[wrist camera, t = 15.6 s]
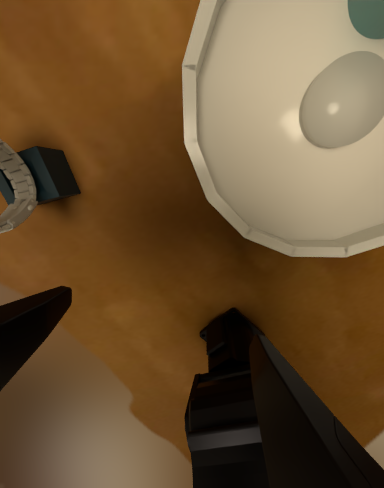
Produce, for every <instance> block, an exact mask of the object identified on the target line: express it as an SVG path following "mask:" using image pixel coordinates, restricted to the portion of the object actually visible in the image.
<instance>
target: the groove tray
mask: <svg viewBox="0 0 384 488" xmlns="http://www.w3.org/2000/svg"><path fill="white" fill-rule="evenodd" d="M182 83H183V116H184V144H185V146H186V149H187V151H188V154H189V156H190V159H191V161H192V164H193V166H194V168H195V171H196V173H197V176H198V178H199V181H200V183H201V186H202V188H203V191H204V193H205V196H206V198H207V201H208V202H209V203H210V204H211V205H212V206H213V207H214V208H215V209H216V210H217V211H218V212H219V213H220V214H221V215H222V216H223V217H224V218H225V219H226V220H227V221H228V222H229V223H230V224H231V225H232V226H233V227H234V228H235V229H236V230H237V231H238V232H239V233H240V234H241V235H242V236H243V237H244V238H246V239H249V240H251V241H254V242H256V243H258V244H261V245H263V246H266V247H268V248H271V249H273V250H276V251H278V252H281V253H283V254H286V255H288V256H291V257H348V256H351V255H355V254H358V253H361V252H364V251H367V250H370V249H374V248H377V247H380V246H383V245H384V39H369V38H366V37H364V36H362V35H361V34H360V33H358V32H357V31H356V29H355V28H354V27H353V25H352V23H351V20H350V18H349V13H348V0H201V1H200V4H199V8H198V11H197V15H196V18H195V22H194V25H193V29H192V32H191V36H190V39H189V43H188V46H187V50H186V53H185V57H184V60H183V64H182Z"/></svg>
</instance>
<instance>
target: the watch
mask: <svg viewBox="0 0 384 488" xmlns="http://www.w3.org/2000/svg"><path fill="white" fill-rule="evenodd" d="M14 152H15V151H14V150H13V149H12V148H11V147H10V146H9V145H7V144H6V143H5V142H3V141H2V140H1V139H0V191H1V193H2V195H3V196H4V198H5V200H6V202H7V203H8V205H9V206H8V207H7V209H6V210H5V211H4V212H3V213H2V214H1V215H0V233H3V232H6V231H9V230H12V229H14V228H16V227H17V226H18V225H20V224H21V223H22V222H24V221H25V220H26V219H27V218H28V217H29V216H30V214H31V213H32V212H33V210H34V209H35V207H36V205H40V204H43V203H47V202H51V201H55V200H58V199H62V198H66V197H69V196H73V195H77V194H80V193H81V192H80V190H79V188H78V186H77V183H76V181H75V179H74V176H73V174H72V172H71V169H70V167H69V165H68V162H67V160H66V158H65V155H64V153H63V151H61V150H56V149H50V148H44V147H38V146H35V147H32V148H29V149H26V150H23V151H20V152H17V153H14ZM12 153H13V154H12Z"/></svg>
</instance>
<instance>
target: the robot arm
mask: <svg viewBox="0 0 384 488" xmlns="http://www.w3.org/2000/svg"><path fill="white" fill-rule="evenodd" d="M71 302H72V289H71V288H70V287H66V286H59V287H56V288H53V289H50V290H47V291H44V292H41V293H38V294H35V295H32V296H29V297H26V298H23V299H20V300H17V301H14V302H11V303H8V304H5V305H1V306H0V391H1V390H2V388H3V387H4V386H5V385H6V384H7V383H8V382H9V380H10V379H11V378H12V377H13V376H14V375H15V374H16V372H17V371H18V370H19V369H20V368H21V367H22V366H23V364H24V363H25V362H26V361H27V360H28V359H29V358H30V357H31V355H32V354H33V353H34V352H35V351H36V350H37V349H38V347H39V346H40V345H41V344H42V342H44V341H45V339H46V338H47V337H48V336H49V334H50V333H51V332H52V330H53V329H54V328H55V326H56V325H57V324H58V322H59V321H60V319H61V318H62V317H63V315H64V314H65V313H66V311H67V310H68V308H69V307H70V305H71ZM232 312H235V313H232ZM203 334H204V335H203ZM200 337H201V338H202V339H203V340H205V341H206V342H207V355H208V371H209V373H205V374H196V375H195V377H194V381H193V385H192V389H191V393H190V396H189V400H188V404H187V409H186V413H185V431H186V436H187V442H188V446H189V449H190V452H191V459H192V470H193V488H384V470H383V468H382V467H381V466H380V465H379V464H378V463H377V462H376V461H375V460H374V459H373V458H372V457H371V456H370V455H369V453H368V452H366V450H365V449H364V448H363V447H362V446H361V445H360V444H359V443H358V442H357V440H356V439H355V438H354V437H353V436H352V435H351V434H350V433H349V431H348V430H347V429H346V428H345V427H344V426H343V425H342V424H341V422H340V421H339V420H338V419H337V418H336V417H335V416H334V415H333V413H332V412H331V411H330V410H329V409H328V408H327V406H326V405H325V404H324V403H323V402H322V401H321V400H320V398H319V397H318V396H317V395H316V394H315V393H314V391H313V390H312V389H311V388H310V387H309V386H308V385H307V383H306V382H305V381H304V380H303V379H302V378H301V377H300V375H299V374H298V373H297V372H296V371H295V370H294V369H293V367H292V366H291V365H290V364H289V363H288V362H287V360H286V359H285V358H284V357H283V356H282V355H281V354H280V352H279V351H278V350H277V349H276V348H275V347H274V346H273V344H272V343H271V342H270V341H269V340H268V339H267V338H266V337H265V334H264V333H263V332H262V331H260V330H259V329H258V328H257V327H256V326H255V325H254V324H253V323H251V322H250V321H249V320H248V319H247V318H246V317H245V316H244V315H242V314H241V313H240V312H239V311H238V310H237V309H235V308H232V309H230V310H229V311H228V312H226V313H225V314H224V315H222V316H221V317H219V318H217V319H216V320H215V321H213V322H212V323H211V324H209V325H208V326H207V327H206V328H204V329H203V330H202V331H201V332H200Z"/></svg>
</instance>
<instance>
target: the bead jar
mask: <svg viewBox="0 0 384 488" xmlns="http://www.w3.org/2000/svg"><path fill="white" fill-rule="evenodd" d="M348 13H349V18H350V20H351V23H352V25H353V27H354V28H355V29H356V31H357V32H358V33H360V34H361V35H362V36H364V37H366V38H369V39H384V0H348Z"/></svg>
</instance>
